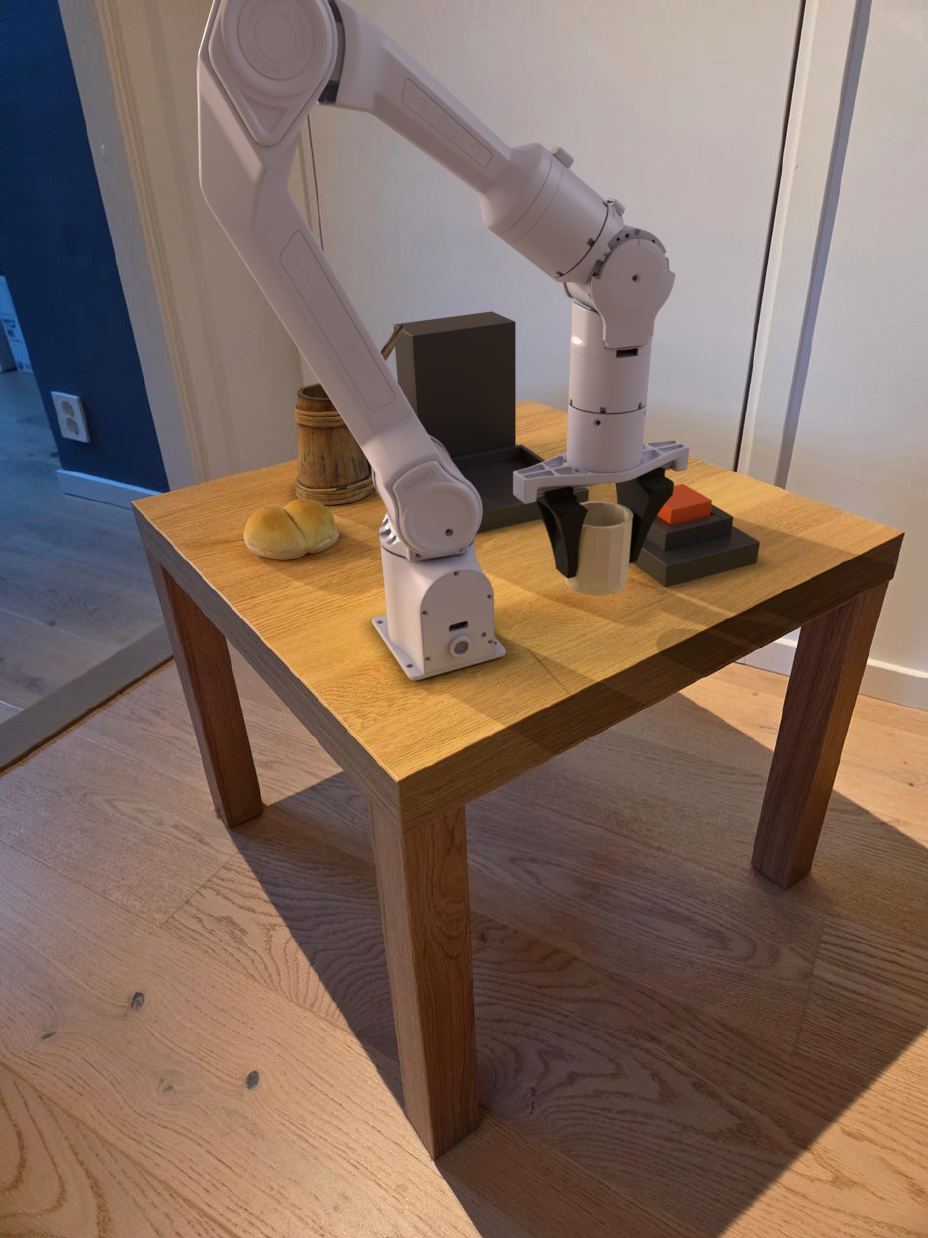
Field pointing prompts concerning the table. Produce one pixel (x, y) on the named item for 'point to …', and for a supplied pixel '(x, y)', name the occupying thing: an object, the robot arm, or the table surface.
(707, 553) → the control block
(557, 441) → the table surface
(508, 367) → the block
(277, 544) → the bread roll
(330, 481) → the wooden mug
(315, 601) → the table surface
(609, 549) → the cream cup
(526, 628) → the table surface
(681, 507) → the button
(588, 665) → the table surface
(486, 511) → the tray
